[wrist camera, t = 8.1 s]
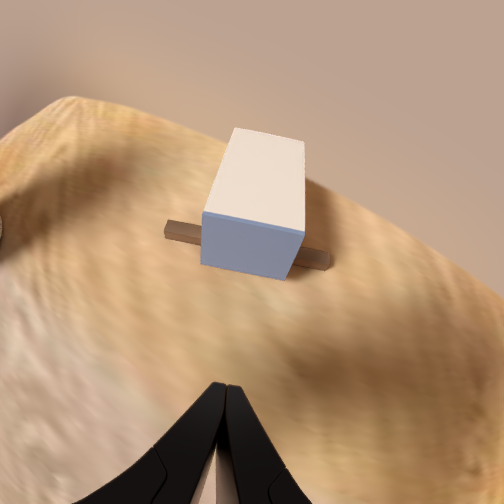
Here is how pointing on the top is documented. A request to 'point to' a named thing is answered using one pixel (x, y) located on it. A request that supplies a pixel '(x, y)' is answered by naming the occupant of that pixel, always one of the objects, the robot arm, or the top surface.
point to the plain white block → (256, 206)
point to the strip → (193, 236)
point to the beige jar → (0, 227)
